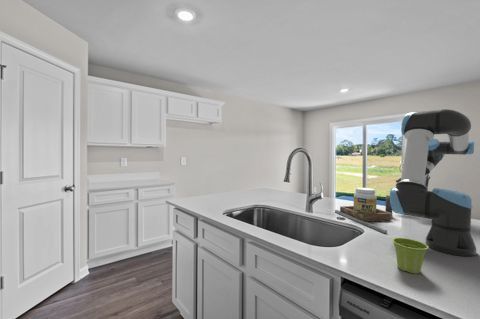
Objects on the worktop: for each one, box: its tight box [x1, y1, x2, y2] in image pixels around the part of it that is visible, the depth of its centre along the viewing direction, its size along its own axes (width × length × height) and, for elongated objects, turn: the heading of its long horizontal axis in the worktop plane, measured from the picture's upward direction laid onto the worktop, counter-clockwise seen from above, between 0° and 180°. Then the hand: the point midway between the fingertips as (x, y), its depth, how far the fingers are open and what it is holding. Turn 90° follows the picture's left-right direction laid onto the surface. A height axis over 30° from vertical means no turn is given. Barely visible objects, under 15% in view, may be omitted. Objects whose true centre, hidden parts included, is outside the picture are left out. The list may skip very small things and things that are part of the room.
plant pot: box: [392, 237, 430, 274], centre depth 76 cm, size 9×9×9 cm
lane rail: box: [334, 209, 388, 235], centre depth 130 cm, size 40×1×2 cm, turn 11°
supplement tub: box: [352, 187, 378, 214], centre depth 139 cm, size 12×12×17 cm
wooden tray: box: [339, 194, 393, 222], centre depth 140 cm, size 19×28×12 cm
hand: (402, 193), depth 144 cm, fingers open, 13 cm apart
